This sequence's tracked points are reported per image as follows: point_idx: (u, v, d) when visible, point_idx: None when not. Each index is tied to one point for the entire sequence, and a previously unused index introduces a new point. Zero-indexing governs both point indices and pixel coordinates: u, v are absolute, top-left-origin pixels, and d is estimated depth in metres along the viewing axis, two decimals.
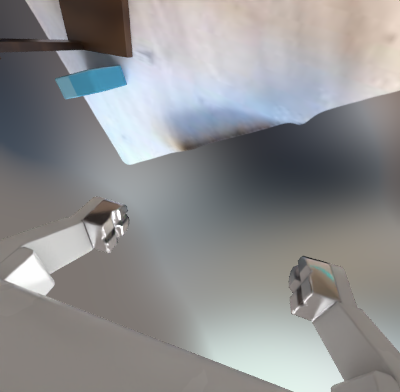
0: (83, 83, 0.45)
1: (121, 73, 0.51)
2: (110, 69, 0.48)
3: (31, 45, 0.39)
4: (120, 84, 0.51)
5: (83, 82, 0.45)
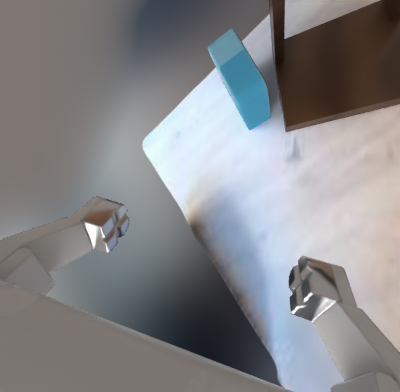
0: (241, 74, 0.29)
1: (262, 121, 0.37)
2: (267, 108, 0.34)
3: None
4: (249, 124, 0.36)
5: (243, 74, 0.29)
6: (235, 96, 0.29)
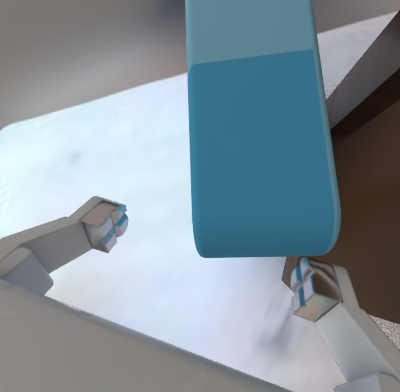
0: (259, 148, 0.06)
1: None
2: None
3: None
4: None
5: (266, 152, 0.06)
6: (196, 224, 0.06)
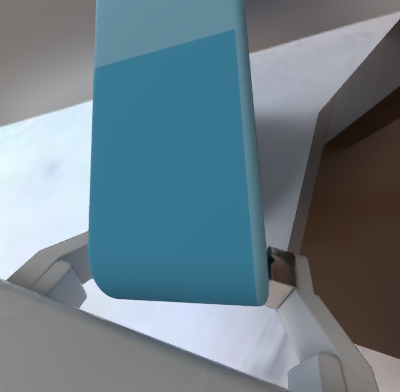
0: (162, 168, 0.05)
1: None
2: None
3: None
4: None
5: (170, 173, 0.05)
6: (91, 264, 0.05)
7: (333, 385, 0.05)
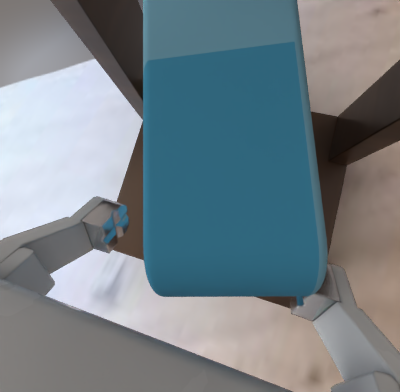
0: (226, 166, 0.05)
1: None
2: None
3: None
4: None
5: (234, 171, 0.05)
6: (148, 261, 0.05)
7: None
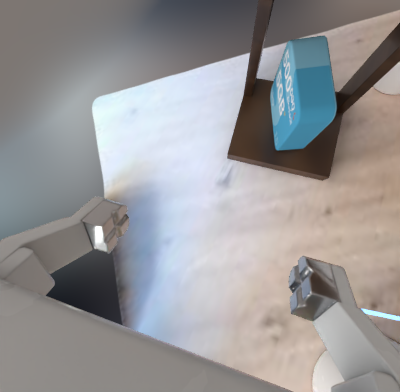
0: (316, 90, 0.25)
1: (294, 148, 0.34)
2: (310, 139, 0.31)
3: (262, 28, 0.25)
4: (283, 144, 0.32)
5: (317, 91, 0.25)
6: (299, 110, 0.25)
7: None
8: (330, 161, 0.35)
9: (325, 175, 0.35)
